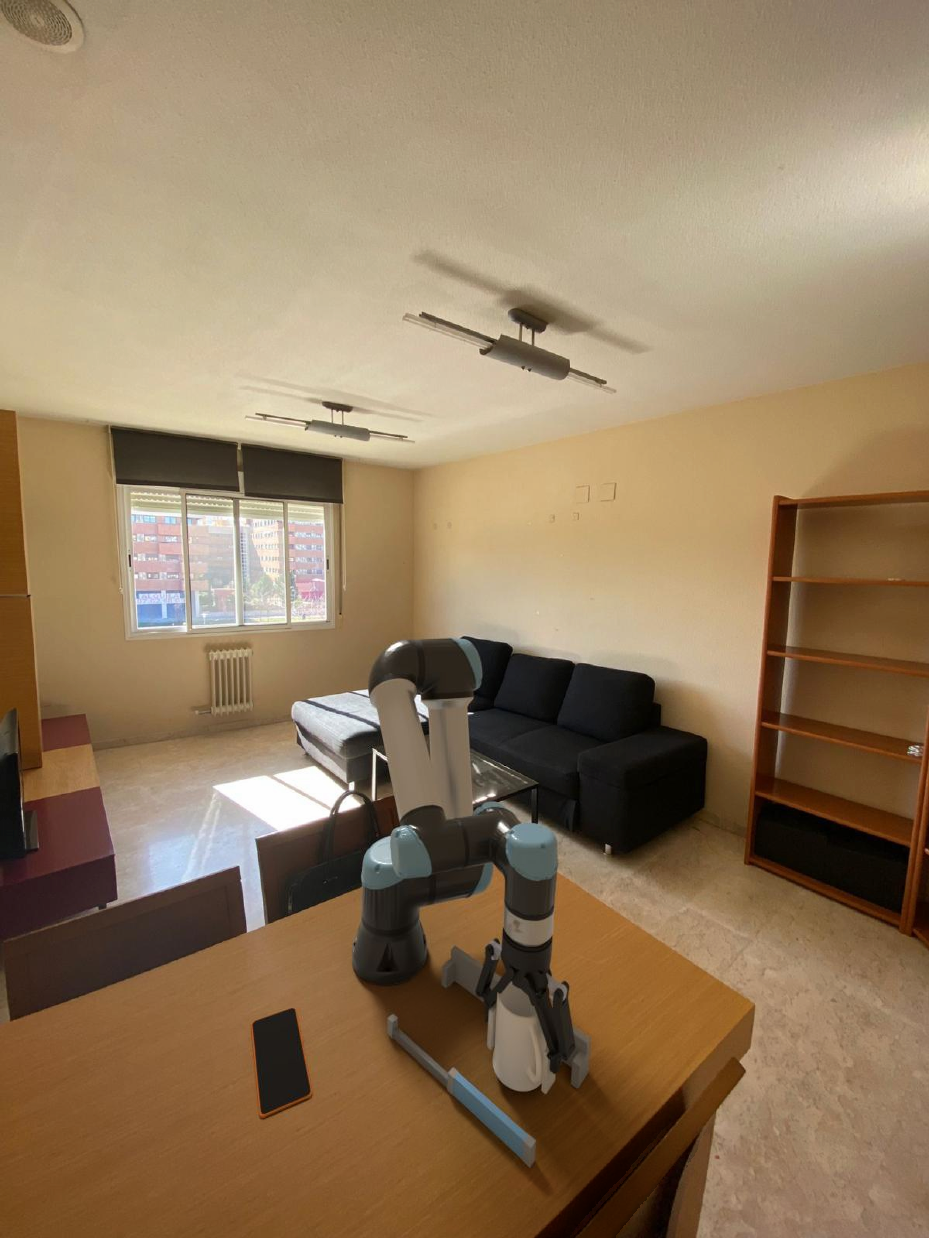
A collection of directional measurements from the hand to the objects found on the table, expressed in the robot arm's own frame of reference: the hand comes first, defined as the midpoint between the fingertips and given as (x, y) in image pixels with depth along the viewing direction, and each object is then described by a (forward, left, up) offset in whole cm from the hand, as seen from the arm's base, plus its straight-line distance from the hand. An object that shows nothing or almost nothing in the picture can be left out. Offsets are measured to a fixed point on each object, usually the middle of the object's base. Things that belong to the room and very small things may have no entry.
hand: (519, 1062), depth 78 cm
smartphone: (-31, -23, -4) cm, 38 cm away
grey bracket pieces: (-7, 0, -3) cm, 7 cm away
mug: (+1, 0, -2) cm, 2 cm away
